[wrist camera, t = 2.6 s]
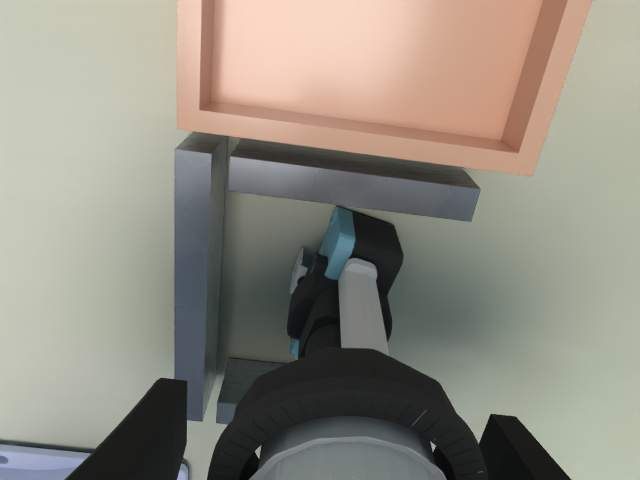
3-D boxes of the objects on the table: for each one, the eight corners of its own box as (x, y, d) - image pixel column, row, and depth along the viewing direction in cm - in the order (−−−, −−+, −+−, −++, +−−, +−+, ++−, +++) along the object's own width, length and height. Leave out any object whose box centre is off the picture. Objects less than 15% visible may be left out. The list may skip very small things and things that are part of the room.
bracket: (191, 373, 19) (174, 418, 17) (196, 129, 15) (174, 149, 13) (396, 395, 20) (405, 442, 18) (458, 164, 15) (480, 189, 13)
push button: (363, 369, 19) (398, 685, 10) (236, 331, 18) (151, 638, 9) (435, 227, 16) (570, 489, 7) (289, 177, 16) (240, 400, 7)
